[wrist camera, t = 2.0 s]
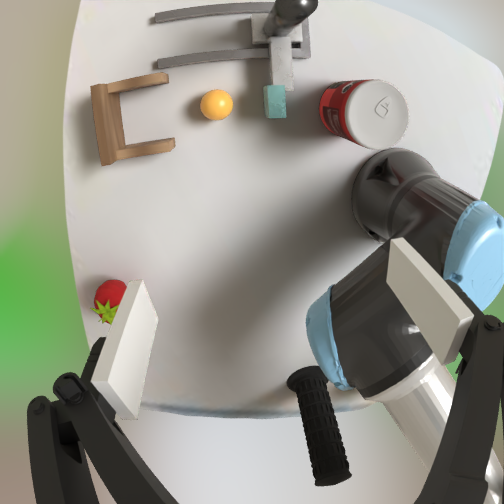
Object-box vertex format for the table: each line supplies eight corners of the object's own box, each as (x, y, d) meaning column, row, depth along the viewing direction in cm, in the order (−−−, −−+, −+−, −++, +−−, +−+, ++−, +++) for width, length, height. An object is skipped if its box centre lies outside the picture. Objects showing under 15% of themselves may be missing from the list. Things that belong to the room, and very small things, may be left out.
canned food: (375, 92, 36) (417, 95, 26) (360, 142, 40) (398, 160, 30) (325, 73, 34) (357, 68, 25) (310, 127, 38) (338, 138, 29)
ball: (231, 88, 35) (231, 87, 32) (233, 117, 37) (234, 120, 33) (200, 91, 35) (197, 90, 31) (203, 120, 37) (200, 123, 33)
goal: (168, 74, 33) (157, 70, 28) (175, 146, 38) (166, 155, 32) (110, 86, 33) (90, 86, 27) (119, 155, 38) (101, 166, 32)
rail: (304, 5, 29) (306, 3, 28) (308, 58, 33) (310, 57, 32) (157, 15, 29) (154, 13, 28) (160, 68, 33) (158, 67, 32)
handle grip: (325, 360, 61) (281, 374, 62) (359, 470, 38) (301, 487, 39) (333, 383, 66) (293, 396, 67) (362, 481, 43) (312, 496, 44)
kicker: (297, 17, 30) (330, -16, 18) (302, 114, 37) (338, 125, 25) (250, 17, 30) (262, -20, 18) (257, 116, 37) (271, 126, 25)
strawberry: (108, 299, 49) (91, 338, 41) (102, 263, 46) (81, 300, 37) (139, 303, 50) (126, 344, 41) (136, 266, 47) (119, 305, 38)
